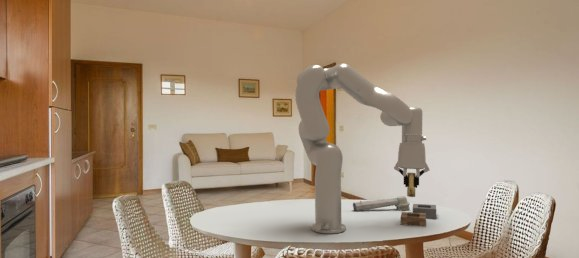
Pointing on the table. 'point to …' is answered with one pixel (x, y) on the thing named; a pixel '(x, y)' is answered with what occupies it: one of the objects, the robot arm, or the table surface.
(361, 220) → the table surface
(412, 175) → the brass pin
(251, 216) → the table surface
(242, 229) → the table surface
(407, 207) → the light grey piece
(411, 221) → the walnut mount
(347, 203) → the table surface
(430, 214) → the charcoal dock
